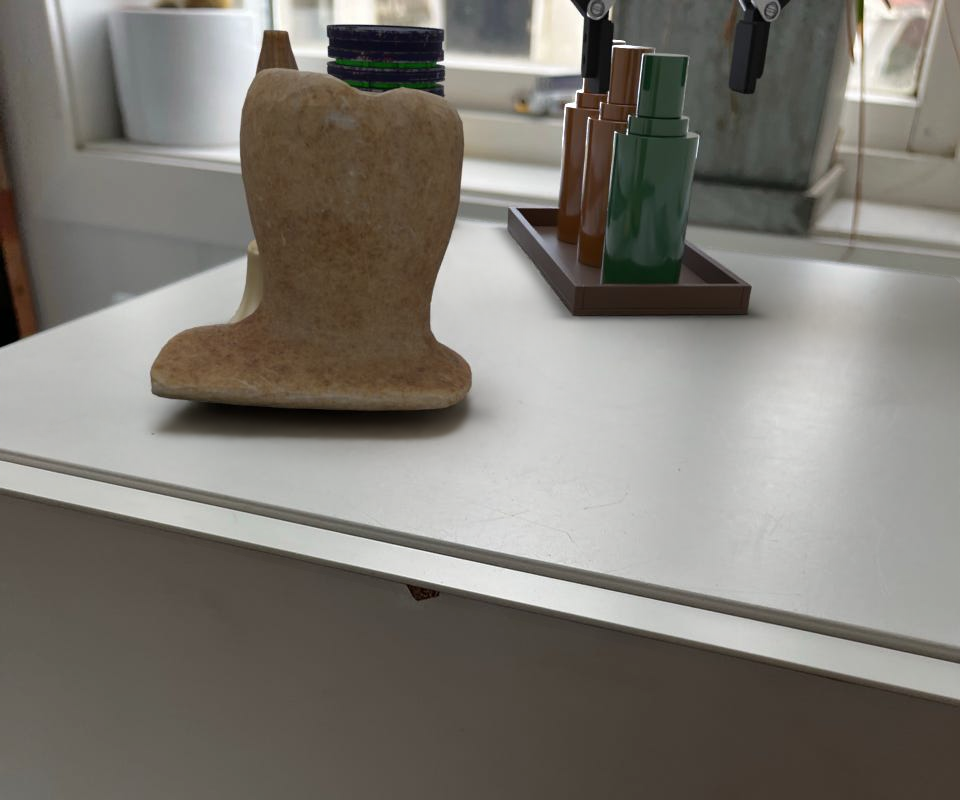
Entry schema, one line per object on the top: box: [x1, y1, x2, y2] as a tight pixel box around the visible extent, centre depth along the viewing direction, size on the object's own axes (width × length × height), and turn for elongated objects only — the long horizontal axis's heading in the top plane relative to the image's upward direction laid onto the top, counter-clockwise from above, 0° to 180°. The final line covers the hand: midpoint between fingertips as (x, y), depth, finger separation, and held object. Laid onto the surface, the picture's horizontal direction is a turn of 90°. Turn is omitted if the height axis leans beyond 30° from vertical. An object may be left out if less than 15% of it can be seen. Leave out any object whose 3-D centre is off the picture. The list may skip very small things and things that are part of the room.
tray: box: [506, 206, 753, 316], centre depth 79 cm, size 12×27×2 cm, turn 8°
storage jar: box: [326, 23, 446, 98], centre depth 87 cm, size 10×10×15 cm
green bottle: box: [600, 52, 700, 284], centre depth 68 cm, size 6×6×14 cm
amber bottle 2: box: [576, 45, 656, 268], centre depth 75 cm, size 6×6×14 cm
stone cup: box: [149, 68, 473, 412], centre depth 49 cm, size 15×12×15 cm
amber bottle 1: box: [556, 39, 626, 245], centre depth 82 cm, size 6×6×14 cm
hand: (670, 92), depth 66 cm, fingers open, 9 cm apart
